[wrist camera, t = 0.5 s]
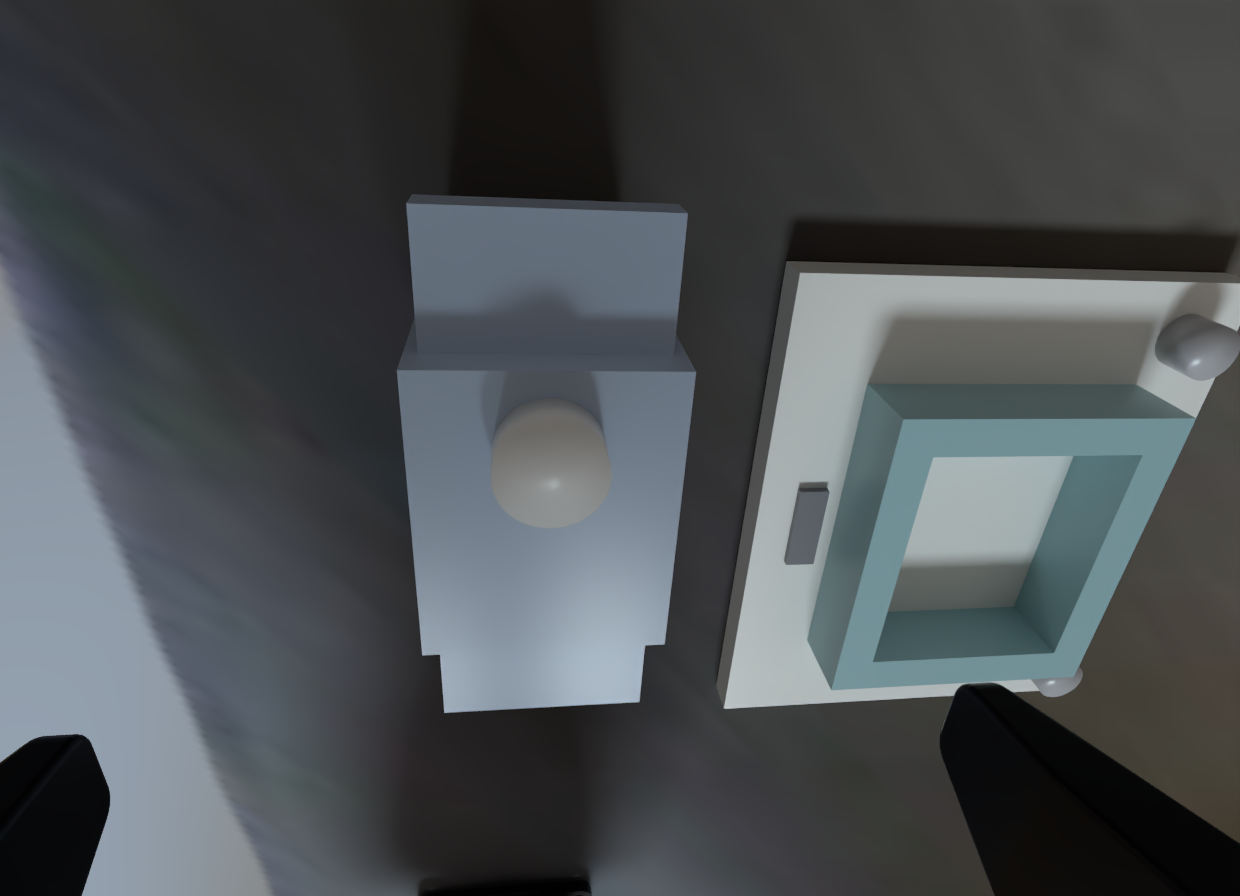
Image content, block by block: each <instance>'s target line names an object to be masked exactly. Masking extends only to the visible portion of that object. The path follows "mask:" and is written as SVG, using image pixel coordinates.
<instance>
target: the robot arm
mask: <svg viewBox="0 0 1240 896" xmlns="http://www.w3.org/2000/svg"><path fill="white" fill-rule="evenodd" d="M940 750H941V755H942V758H943V761H944V763H945V766H946V769H947V771H948V774H949V777H950V779H951V782H952V785H953V787H954V790H955V793H956V795H957V798H958V801H959V803H960V806H961V809H962V811H963V814H964V817H965V819H966V822H967V825H968V827H969V830H970V833H971V835H972V838H973V841H974V843H975V846H976V849H977V851H978V854H979V857H980V859H981V862H982V865H983V867H984V870H985V873H986V875H987V878H988V880H989V882H990V885H991V887H992V890H993V892H994V895H995V896H1240V843H1238V842H1237V841H1235V840H1234V839H1232V838H1231V837H1229V836H1228V835H1226V834H1225V833H1223V832H1222V831H1220V830H1219V829H1217V828H1216V827H1214V826H1213V825H1211V824H1210V823H1208V822H1207V821H1205V820H1204V819H1202V818H1201V817H1199V816H1198V815H1196V814H1195V813H1193V812H1192V811H1190V810H1189V809H1187V808H1186V807H1184V806H1183V805H1181V804H1180V803H1178V802H1177V801H1175V800H1174V799H1172V798H1171V797H1169V796H1168V795H1166V794H1165V793H1163V792H1162V791H1160V790H1159V789H1157V788H1156V787H1154V786H1153V785H1151V784H1150V783H1148V782H1147V781H1145V780H1144V779H1142V778H1141V777H1139V776H1138V775H1136V774H1135V773H1133V772H1132V771H1130V770H1129V769H1127V768H1126V767H1124V766H1123V765H1121V764H1120V763H1118V762H1117V761H1115V760H1114V759H1112V758H1111V757H1109V756H1108V755H1106V754H1105V753H1103V752H1102V751H1100V750H1099V749H1097V748H1096V747H1094V746H1093V745H1091V744H1090V743H1088V742H1087V741H1085V740H1084V739H1082V738H1081V737H1079V736H1078V735H1076V734H1075V733H1073V732H1072V731H1070V730H1069V729H1067V728H1066V727H1064V726H1063V725H1061V724H1060V723H1058V722H1057V721H1055V720H1054V719H1052V718H1051V717H1049V716H1048V715H1046V714H1045V713H1043V712H1042V711H1040V710H1039V709H1037V708H1036V707H1034V706H1033V705H1031V704H1030V703H1028V702H1027V701H1025V700H1024V699H1022V698H1021V697H1019V696H1018V695H1016V694H1015V693H1013V692H1012V691H1010V690H1009V689H1007V688H1005V687H1004V686H1002V685H1000V684H997V683H993V682H986V683H968V684H963V685H961V686H960V687H959V688H958V689H957V690H956V692H955V694H954V697H953V700H952V702H951V705H950V708H949V711H948V713H947V716H946V719H945V722H944V724H943V727H942V730H941V733H940ZM109 807H110V792H109V787H108V785H107V782H106V780H105V777H104V775H103V772H102V769H101V767H100V765H99V762H98V759H97V757H96V754H95V752H94V749H93V747H92V744H91V742H90V741H89V739H87V738H86V737H85V736H83V735H78V734H74V735H56V736H42V737H38V738H35V739H33V740H31V741H29V742H28V743H26V744H25V745H23V746H22V747H20V748H19V749H18V750H16V751H15V752H14V753H13V754H11V755H10V756H8V757H7V758H6V759H4V760H3V761H2V762H0V896H82V893H83V890H84V887H85V884H86V881H87V878H88V875H89V871H90V868H91V865H92V862H93V859H94V856H95V853H96V850H97V847H98V844H99V841H100V838H101V835H102V831H103V829H104V826H105V823H106V820H107V816H108V813H109ZM424 896H592V895H591V886H590V884H589V883H588V882H585V881H571V882H559V883H548V884H536V885H525V886H513V887H502V888H491V889H479V890H468V891H456V892H445V893H434V894H427V895H424Z"/></svg>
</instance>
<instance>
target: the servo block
mask: <svg viewBox="0 0 1240 896" xmlns="http://www.w3.org/2000/svg"><path fill="white" fill-rule="evenodd" d="M406 206H407V219H408V232H409V246H410V259H411V273H412V286H413V299H414V313H415V318H414V321H413V324H412V327H411V330H410V333H409V335H408V338H407V341H406V344H405V347H404V350H403V353H402V356H401V359H400V362H399V365H398V368H397V378H398V389H399V400H400V412H401V423H402V434H403V445H404V456H405V467H406V478H407V489H408V501H409V512H410V523H411V534H412V545H413V556H414V567H415V579H416V590H417V601H418V612H419V623H420V634H421V645H422V655H440V661H441V674H442V688H443V701H444V713H451V712H469V711H487V710H505V709H523V708H541V707H558V706H576V705H594V704H612V703H630V702H639V700H640V690H641V680H642V670H643V660H644V650H645V645H663V644H665V636H666V628H667V619H668V611H669V602H670V593H671V585H672V576H673V567H674V559H675V550H676V541H677V533H678V524H679V516H680V507H681V498H682V490H683V481H684V472H685V464H686V455H687V447H688V438H689V429H690V421H691V412H692V403H693V395H694V386H695V378H696V371H695V369H694V367H693V365H692V363H691V361H690V359H689V358H688V356H687V354H686V352H685V350H684V348H683V346H682V345H681V343H680V341H679V339H678V337H677V335H676V328H677V318H678V308H679V298H680V288H681V278H682V268H683V258H684V248H685V238H686V228H687V217H688V213H687V212H686V211H685V210H684V209H683V208H682V207H681V206H680V205H679V204H662V203H635V202H607V201H580V200H553V199H525V198H498V197H470V196H443V195H416V194H412V195H411V197H410V198H409V200H408V202H407V203H406Z"/></svg>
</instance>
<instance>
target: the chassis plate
mask: <svg viewBox="0 0 1240 896" xmlns="http://www.w3.org/2000/svg"><path fill="white" fill-rule="evenodd" d="M1239 326H1240V277H1237V276H1234V275H1232V274H1229V273H1214V272H1177V271H1139V270H1101V269H1064V268H1026V267H988V266H950V265H913V264H875V263H837V262H800V261H786V266H785V272H784V278H783V284H782V290H781V296H780V302H779V309H778V315H777V321H776V327H775V333H774V339H773V345H772V351H771V357H770V363H769V369H768V375H767V381H766V387H765V393H764V399H763V406H762V412H761V418H760V424H759V430H758V436H757V442H756V448H755V454H754V460H753V466H752V472H751V478H750V484H749V490H748V496H747V503H746V509H745V515H744V521H743V527H742V533H741V539H740V545H739V551H738V557H737V563H736V569H735V575H734V581H733V587H732V594H731V600H730V606H729V612H728V618H727V624H726V630H725V636H724V642H723V648H722V654H721V660H720V666H719V672H718V678H717V684H716V685H717V688H718V692H719V695H720V698H721V701H722V705H723V708H724V709H729V708H746V707H763V706H781V705H798V704H815V703H833V702H850V701H867V700H884V699H902V698H919V697H936V696H954V694H955V692H956V690H957V689H958V688H959V687H960V686H961V685H963V684H968V683H986V682H993V683H997V684H1000V685H1002V686H1004V687H1005V688H1007V689H1009V690H1010V691H1012V692H1023V691H1040V692H1041V693H1042V694H1043V695H1045V696H1048V697H1057V696H1061V695H1064V694H1066V693H1068V692H1070V691H1072V690H1073V689H1074V688H1075V687H1076V686H1077V685H1078V684H1079V683H1080V681H1081V679H1082V676H1083V672H1082V670H1081V668H1080V667H1079V665H1080V663H1081V661H1082V658H1083V656H1084V654H1085V652H1086V650H1087V648H1088V646H1089V644H1090V642H1091V639H1092V637H1093V635H1094V633H1095V631H1096V629H1097V627H1098V625H1099V623H1100V620H1101V618H1102V616H1103V614H1104V612H1105V610H1106V608H1107V606H1108V604H1109V601H1110V599H1111V597H1112V595H1113V593H1114V591H1115V589H1116V587H1117V585H1118V582H1119V580H1120V578H1121V576H1122V574H1123V572H1124V570H1125V568H1126V566H1127V563H1128V561H1129V559H1130V557H1131V555H1132V553H1133V551H1134V549H1135V547H1136V544H1137V542H1138V540H1139V538H1140V536H1141V534H1142V532H1143V530H1144V528H1145V525H1146V523H1147V521H1148V519H1149V517H1150V515H1151V513H1152V511H1153V509H1154V506H1155V504H1156V502H1157V500H1158V498H1159V496H1160V494H1161V492H1162V490H1163V487H1164V485H1165V483H1166V481H1167V479H1168V477H1169V475H1170V473H1171V471H1172V469H1173V466H1174V464H1175V462H1176V460H1177V458H1178V456H1179V454H1180V452H1181V450H1182V447H1183V445H1184V443H1185V441H1186V439H1187V437H1188V435H1189V433H1190V431H1191V428H1192V426H1193V424H1194V422H1195V420H1196V417H1197V415H1198V413H1199V411H1200V409H1201V406H1202V404H1203V402H1204V400H1205V398H1206V396H1207V394H1208V392H1209V390H1210V387H1211V385H1212V383H1213V381H1214V379H1215V377H1216V376H1218V375H1220V374H1221V373H1223V372H1224V371H1225V370H1226V369H1227V368H1229V366H1230V365H1231V364H1232V363H1233V362H1234V360H1235V359H1236V357H1237V355H1238V353H1239V350H1240V336H1239V334H1238V332H1237V330H1238V328H1239Z"/></svg>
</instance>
